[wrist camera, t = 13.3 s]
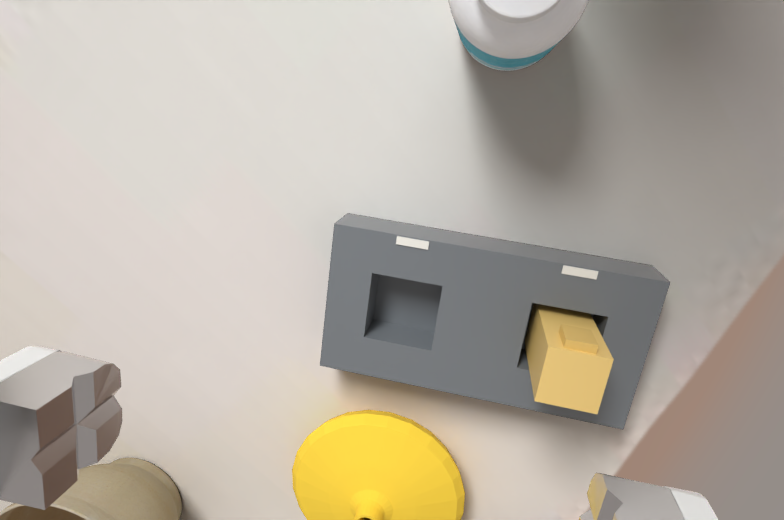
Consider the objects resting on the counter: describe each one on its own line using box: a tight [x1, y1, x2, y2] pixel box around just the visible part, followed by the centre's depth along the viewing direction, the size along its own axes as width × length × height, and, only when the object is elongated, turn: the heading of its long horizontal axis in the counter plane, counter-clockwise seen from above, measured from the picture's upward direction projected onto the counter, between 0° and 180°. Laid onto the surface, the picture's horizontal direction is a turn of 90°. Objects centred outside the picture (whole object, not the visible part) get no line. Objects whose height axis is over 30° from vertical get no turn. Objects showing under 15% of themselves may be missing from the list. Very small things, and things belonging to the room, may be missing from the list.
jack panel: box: [320, 213, 670, 429], centre depth 41 cm, size 12×24×4 cm, turn 82°
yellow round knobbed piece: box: [292, 410, 465, 520], centre depth 45 cm, size 16×16×7 cm
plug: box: [525, 303, 614, 414], centre depth 37 cm, size 5×4×9 cm
